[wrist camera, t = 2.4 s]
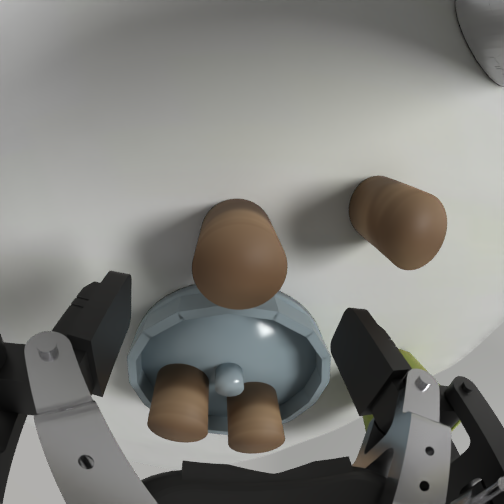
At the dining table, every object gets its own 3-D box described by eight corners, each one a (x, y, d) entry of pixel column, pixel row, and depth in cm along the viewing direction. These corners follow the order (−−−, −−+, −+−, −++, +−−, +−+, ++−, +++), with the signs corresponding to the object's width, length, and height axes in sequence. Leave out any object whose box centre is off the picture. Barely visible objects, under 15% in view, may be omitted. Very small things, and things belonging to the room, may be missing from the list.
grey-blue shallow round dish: (136, 261, 16) (123, 282, 14) (350, 297, 18) (365, 319, 16) (138, 398, 21) (133, 420, 19) (287, 415, 24) (292, 436, 21)
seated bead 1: (157, 358, 18) (146, 409, 14) (212, 368, 19) (211, 419, 14) (156, 390, 19) (148, 436, 15) (205, 398, 20) (204, 445, 16)
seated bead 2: (231, 379, 19) (234, 428, 15) (282, 383, 20) (292, 430, 16) (222, 407, 21) (224, 452, 17) (268, 410, 21) (275, 453, 17)
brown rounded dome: (208, 192, 15) (200, 215, 11) (279, 207, 15) (299, 235, 11) (195, 258, 16) (186, 301, 12) (261, 270, 17) (272, 315, 13)
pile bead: (360, 167, 15) (403, 181, 11) (410, 187, 15) (456, 206, 11) (340, 230, 16) (374, 263, 12) (390, 243, 17) (428, 275, 13)
